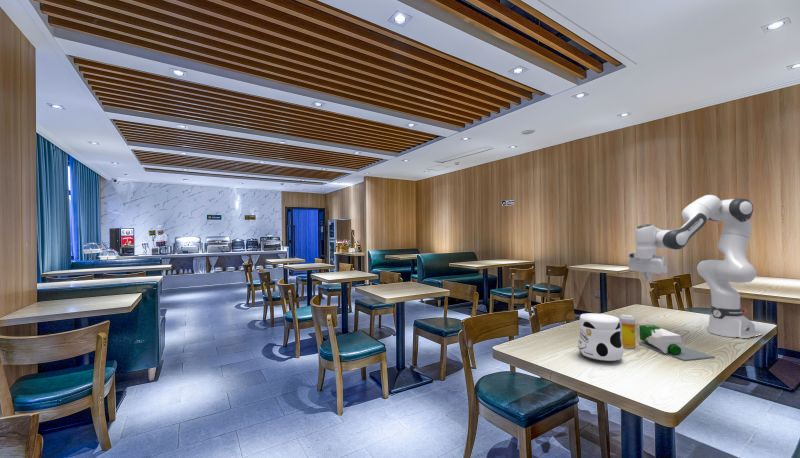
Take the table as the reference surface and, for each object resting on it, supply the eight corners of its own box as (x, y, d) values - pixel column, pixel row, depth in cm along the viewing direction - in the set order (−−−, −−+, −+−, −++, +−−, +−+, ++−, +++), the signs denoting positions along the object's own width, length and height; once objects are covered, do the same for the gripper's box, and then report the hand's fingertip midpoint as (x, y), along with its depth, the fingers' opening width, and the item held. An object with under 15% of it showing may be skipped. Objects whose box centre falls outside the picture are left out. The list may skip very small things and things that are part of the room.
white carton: (638, 341, 171) (666, 356, 151) (637, 323, 171) (665, 335, 151) (656, 340, 170) (687, 355, 150) (655, 322, 170) (686, 335, 150)
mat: (666, 342, 170) (666, 340, 170) (714, 357, 148) (714, 356, 148) (639, 344, 167) (639, 343, 167) (684, 361, 145) (684, 359, 145)
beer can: (637, 349, 161) (637, 317, 161) (623, 348, 162) (622, 317, 162) (631, 345, 166) (631, 314, 167) (618, 344, 168) (617, 314, 168)
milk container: (569, 354, 156) (568, 314, 156) (597, 349, 162) (596, 311, 162) (604, 368, 140) (602, 324, 140) (633, 361, 146) (632, 319, 146)
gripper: (670, 255, 172) (671, 283, 172) (634, 253, 192) (636, 277, 192) (659, 256, 171) (661, 284, 171) (625, 254, 191) (626, 278, 191)
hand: (647, 280), depth 182 cm, fingers closed
